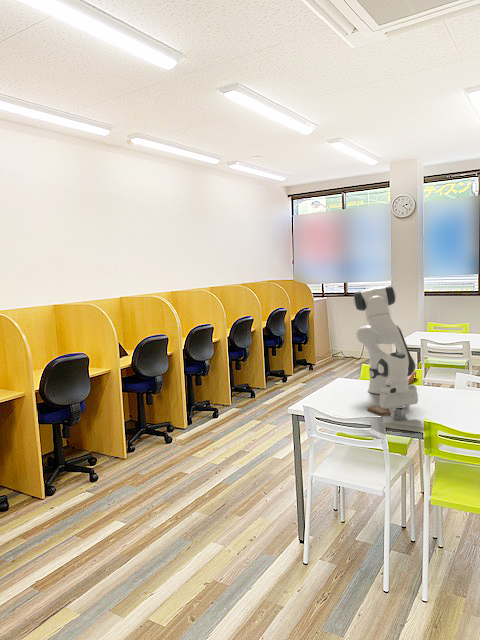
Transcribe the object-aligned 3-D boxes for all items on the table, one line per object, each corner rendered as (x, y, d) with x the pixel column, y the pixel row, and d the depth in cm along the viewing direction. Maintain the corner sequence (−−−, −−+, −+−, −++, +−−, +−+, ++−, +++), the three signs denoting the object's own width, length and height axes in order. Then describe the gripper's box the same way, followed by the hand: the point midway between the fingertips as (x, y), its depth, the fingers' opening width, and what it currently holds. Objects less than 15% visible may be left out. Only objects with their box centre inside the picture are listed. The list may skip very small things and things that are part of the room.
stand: (392, 406, 256) (392, 392, 255) (408, 411, 245) (407, 396, 244) (367, 410, 250) (366, 396, 250) (382, 415, 239) (381, 400, 238)
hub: (400, 416, 237) (400, 406, 236) (408, 419, 231) (407, 409, 231) (390, 418, 235) (390, 408, 234) (398, 421, 229) (398, 410, 229)
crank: (404, 381, 313) (404, 369, 312) (417, 383, 308) (416, 370, 307) (392, 388, 297) (392, 375, 297) (405, 389, 293) (405, 376, 292)
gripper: (411, 383, 238) (412, 410, 239) (377, 388, 231) (377, 416, 232) (420, 385, 232) (421, 413, 234) (385, 390, 225) (386, 419, 226)
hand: (399, 415), depth 233 cm, fingers closed on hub, 6 cm apart
